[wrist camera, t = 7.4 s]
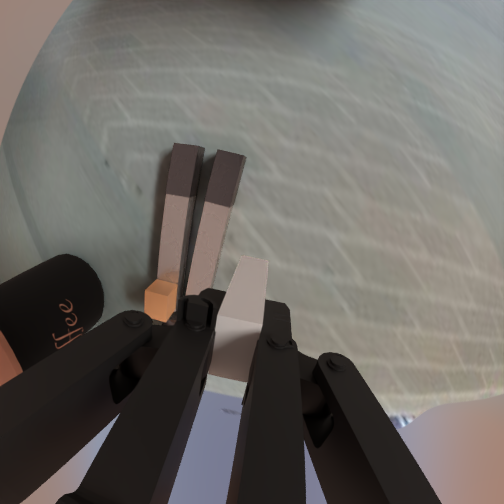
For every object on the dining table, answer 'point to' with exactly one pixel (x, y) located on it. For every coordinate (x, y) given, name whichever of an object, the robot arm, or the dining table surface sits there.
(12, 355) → the coffee jar
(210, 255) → the tongs upper
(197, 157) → the tongs lower
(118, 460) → the robot arm
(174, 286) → the tab
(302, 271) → the dining table surface
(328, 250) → the dining table surface
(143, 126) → the dining table surface
